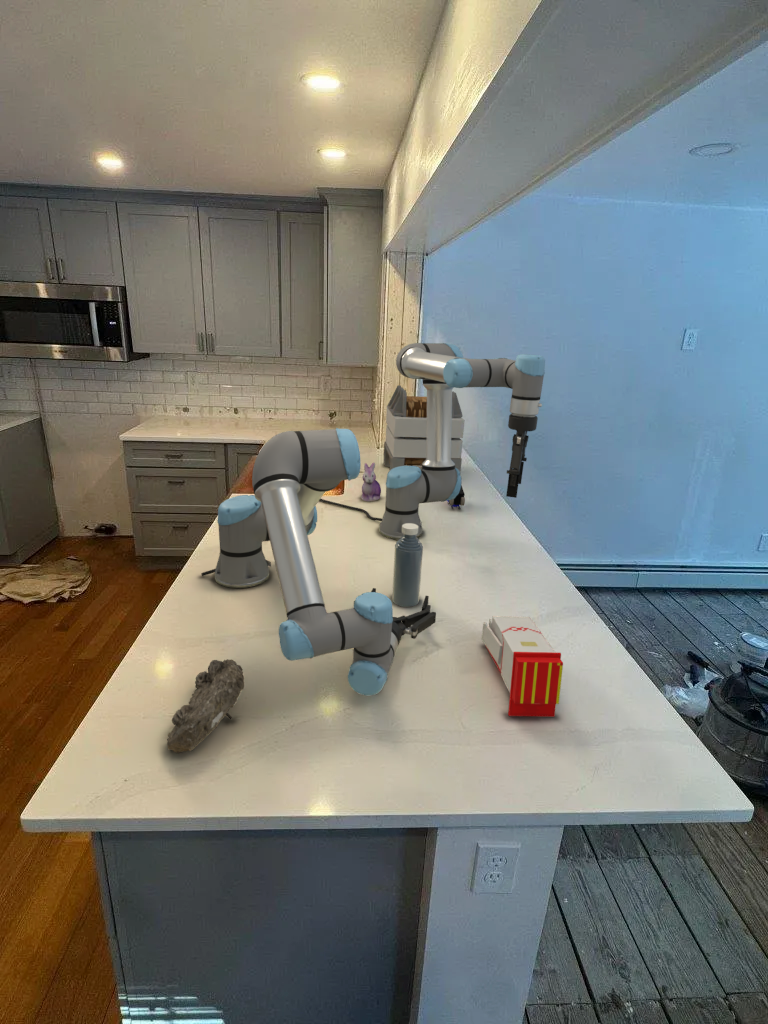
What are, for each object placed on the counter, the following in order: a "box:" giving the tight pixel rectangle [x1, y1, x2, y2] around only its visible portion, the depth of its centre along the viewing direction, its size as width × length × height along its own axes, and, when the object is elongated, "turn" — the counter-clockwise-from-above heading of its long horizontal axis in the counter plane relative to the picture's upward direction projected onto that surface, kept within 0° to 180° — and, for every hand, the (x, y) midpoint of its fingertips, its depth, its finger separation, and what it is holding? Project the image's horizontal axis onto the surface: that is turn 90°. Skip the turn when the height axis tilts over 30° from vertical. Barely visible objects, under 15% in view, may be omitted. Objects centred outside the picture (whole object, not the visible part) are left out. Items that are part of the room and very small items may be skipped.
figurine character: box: [446, 484, 466, 510], centre depth 230 cm, size 7×8×15 cm
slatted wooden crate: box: [383, 384, 465, 475], centre depth 268 cm, size 34×33×41 cm
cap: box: [402, 523, 418, 535], centre depth 148 cm, size 4×4×2 cm
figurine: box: [360, 462, 382, 502], centre depth 233 cm, size 9×10×15 cm
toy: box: [481, 615, 564, 718], centre depth 123 cm, size 12×13×30 cm
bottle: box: [391, 534, 424, 608], centre depth 151 cm, size 7×7×21 cm
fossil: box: [166, 658, 245, 754], centre depth 106 cm, size 22×10×15 cm
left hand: (400, 596), depth 144 cm, fingers open, 13 cm apart
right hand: (513, 489), depth 160 cm, fingers open, 13 cm apart
